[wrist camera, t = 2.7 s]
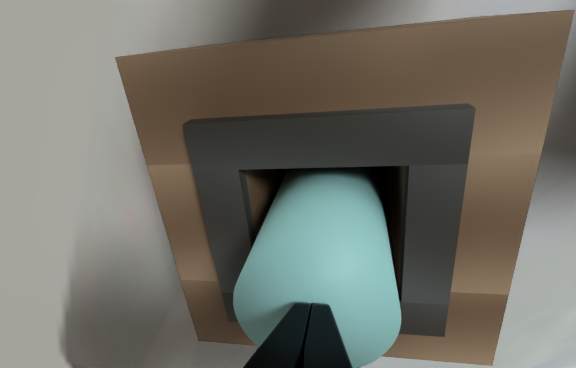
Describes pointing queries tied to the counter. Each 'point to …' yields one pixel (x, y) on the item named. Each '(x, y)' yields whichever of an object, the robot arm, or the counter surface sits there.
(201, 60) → the socket block
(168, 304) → the counter surface
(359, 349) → the peg
